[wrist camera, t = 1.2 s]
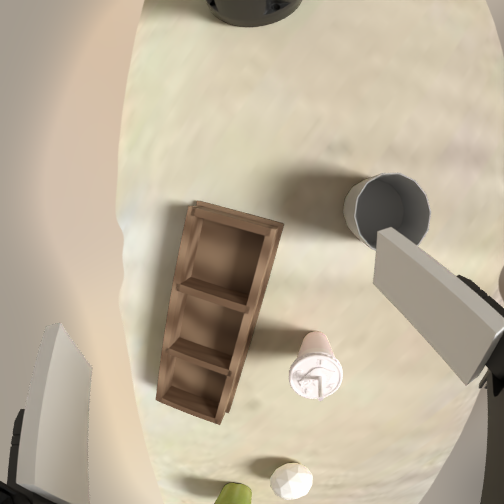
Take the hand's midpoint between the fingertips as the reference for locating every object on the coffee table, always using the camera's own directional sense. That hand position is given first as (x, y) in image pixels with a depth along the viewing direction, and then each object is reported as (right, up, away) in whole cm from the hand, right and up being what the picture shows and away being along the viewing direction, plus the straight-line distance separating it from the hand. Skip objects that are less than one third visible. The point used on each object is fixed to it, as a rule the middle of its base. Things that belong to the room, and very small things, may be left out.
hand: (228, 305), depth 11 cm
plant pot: (-2, -49, +40) cm, 63 cm away
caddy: (-5, -8, +33) cm, 34 cm away
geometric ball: (+9, -39, +36) cm, 54 cm away
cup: (+17, +7, +27) cm, 32 cm away
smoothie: (+10, -11, +31) cm, 34 cm away
